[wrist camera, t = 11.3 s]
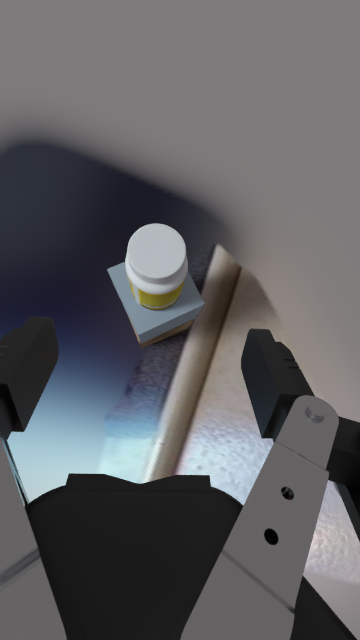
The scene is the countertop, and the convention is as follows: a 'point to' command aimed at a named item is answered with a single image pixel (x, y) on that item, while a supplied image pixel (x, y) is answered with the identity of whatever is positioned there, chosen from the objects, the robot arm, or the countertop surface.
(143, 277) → the supplement bottle
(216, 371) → the countertop surface
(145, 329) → the slate block
